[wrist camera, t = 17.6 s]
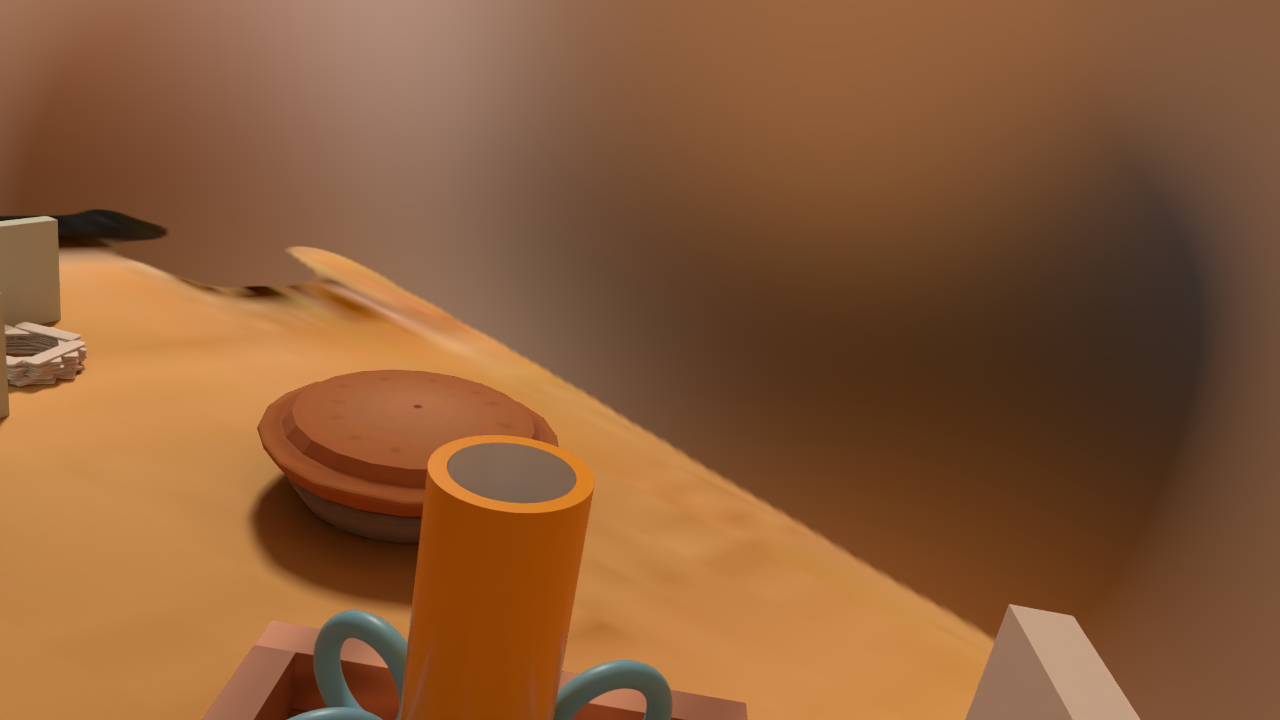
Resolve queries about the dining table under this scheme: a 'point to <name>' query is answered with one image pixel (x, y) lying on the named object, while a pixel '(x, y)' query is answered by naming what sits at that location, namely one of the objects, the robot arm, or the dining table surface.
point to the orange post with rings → (489, 596)
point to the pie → (382, 442)
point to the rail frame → (391, 685)
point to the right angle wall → (32, 308)
